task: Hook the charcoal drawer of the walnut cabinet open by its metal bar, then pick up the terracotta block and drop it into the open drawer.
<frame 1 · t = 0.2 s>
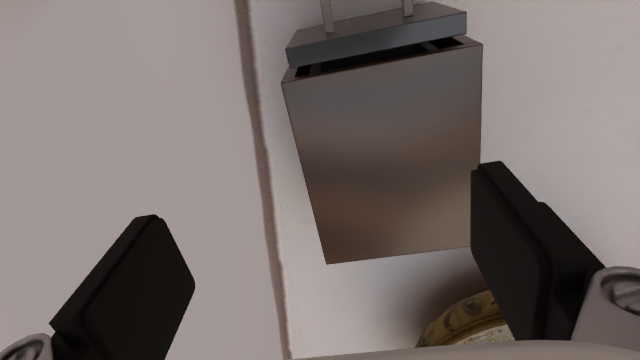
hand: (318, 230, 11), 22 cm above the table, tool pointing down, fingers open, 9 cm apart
ceramic bowl: (491, 316, 45), on the table
drawer: (375, 87, 26), point 5 cm above the table, slide at 0.5 cm
cabinet: (376, 122, 33), on the table
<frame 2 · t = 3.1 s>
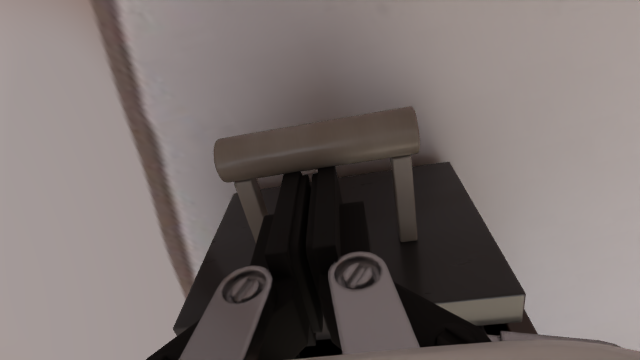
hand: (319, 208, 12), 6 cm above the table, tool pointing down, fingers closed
drawer: (354, 306, 16), point 5 cm above the table, slide at 0.9 cm
cabinet: (362, 297, 23), on the table
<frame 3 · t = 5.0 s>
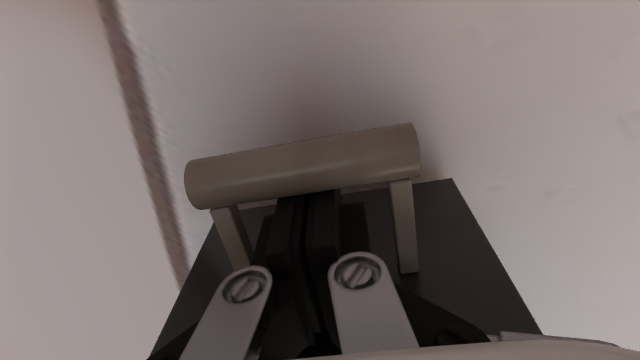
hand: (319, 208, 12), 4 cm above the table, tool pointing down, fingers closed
drawer: (349, 338, 15), point 5 cm above the table, slide at 9.1 cm, touching gripper
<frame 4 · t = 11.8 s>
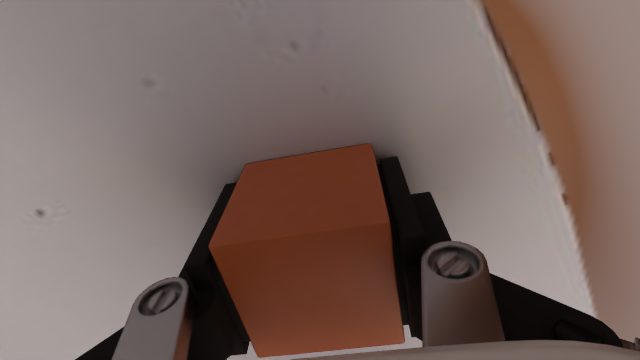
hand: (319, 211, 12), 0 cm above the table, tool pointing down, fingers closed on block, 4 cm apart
block: (319, 206, 12), on the table, touching gripper
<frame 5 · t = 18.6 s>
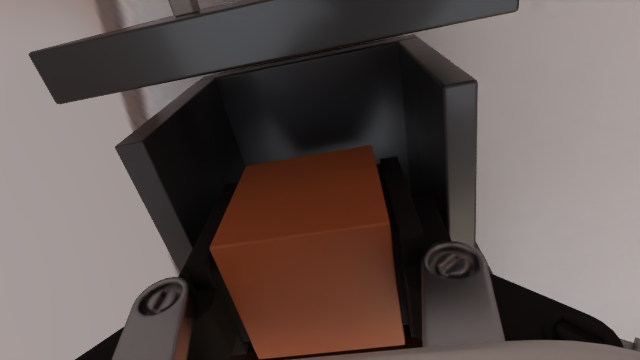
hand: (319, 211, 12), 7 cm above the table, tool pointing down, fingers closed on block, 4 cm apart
drawer: (309, 130, 13), point 5 cm above the table, slide at 9.3 cm, touching gripper
block: (319, 207, 12), point 7 cm above the table, touching gripper
cabinet: (357, 294, 23), on the table
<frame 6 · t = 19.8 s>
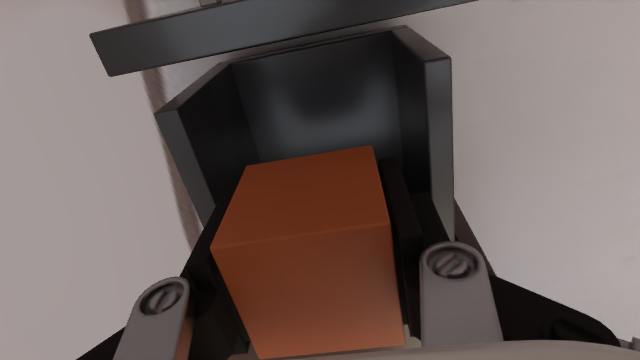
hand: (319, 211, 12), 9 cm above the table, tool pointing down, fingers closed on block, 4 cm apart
drawer: (313, 107, 15), point 5 cm above the table, slide at 9.3 cm
block: (320, 207, 12), point 9 cm above the table, touching gripper
cabinet: (355, 267, 25), on the table
when the fingers open (9 cm above the table, at t = 28.2 s): block drops 7 cm, resting on drawer.
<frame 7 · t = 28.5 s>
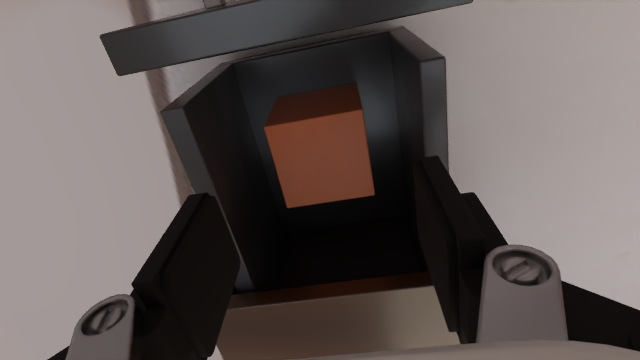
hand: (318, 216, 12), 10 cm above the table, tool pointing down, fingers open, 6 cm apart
drawer: (313, 106, 15), point 5 cm above the table, slide at 9.3 cm, touching block
block: (323, 127, 19), point 2 cm above the table, touching drawer
cabinet: (354, 263, 26), on the table
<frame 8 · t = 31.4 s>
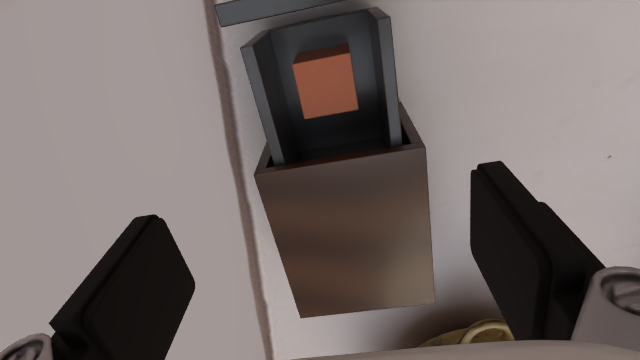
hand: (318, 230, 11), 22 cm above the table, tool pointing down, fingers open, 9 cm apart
ceramic bowl: (463, 348, 48), on the table
drawer: (321, 53, 25), point 5 cm above the table, slide at 9.3 cm, touching block
block: (326, 73, 29), point 2 cm above the table, touching drawer
cabinet: (348, 182, 36), on the table
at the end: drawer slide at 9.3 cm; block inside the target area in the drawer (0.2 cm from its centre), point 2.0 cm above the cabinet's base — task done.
